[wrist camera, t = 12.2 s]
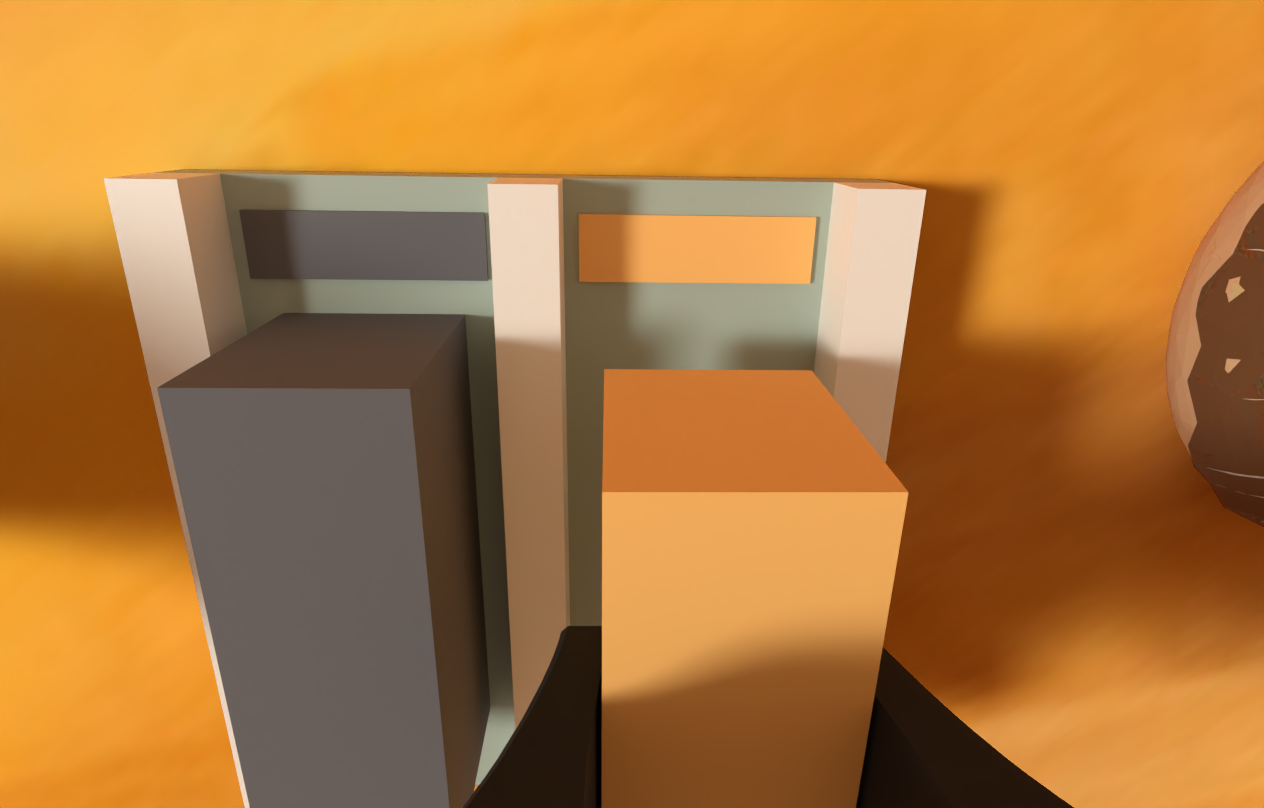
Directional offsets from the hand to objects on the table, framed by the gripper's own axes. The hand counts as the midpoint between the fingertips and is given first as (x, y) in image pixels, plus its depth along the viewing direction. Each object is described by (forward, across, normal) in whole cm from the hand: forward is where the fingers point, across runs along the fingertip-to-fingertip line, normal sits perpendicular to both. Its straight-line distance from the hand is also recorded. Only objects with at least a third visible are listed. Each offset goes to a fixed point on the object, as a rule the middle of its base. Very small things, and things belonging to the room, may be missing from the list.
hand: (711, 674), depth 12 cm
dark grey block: (+5, +6, 0) cm, 8 cm away
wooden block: (+2, 0, 0) cm, 2 cm away
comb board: (+6, +3, 0) cm, 7 cm away
